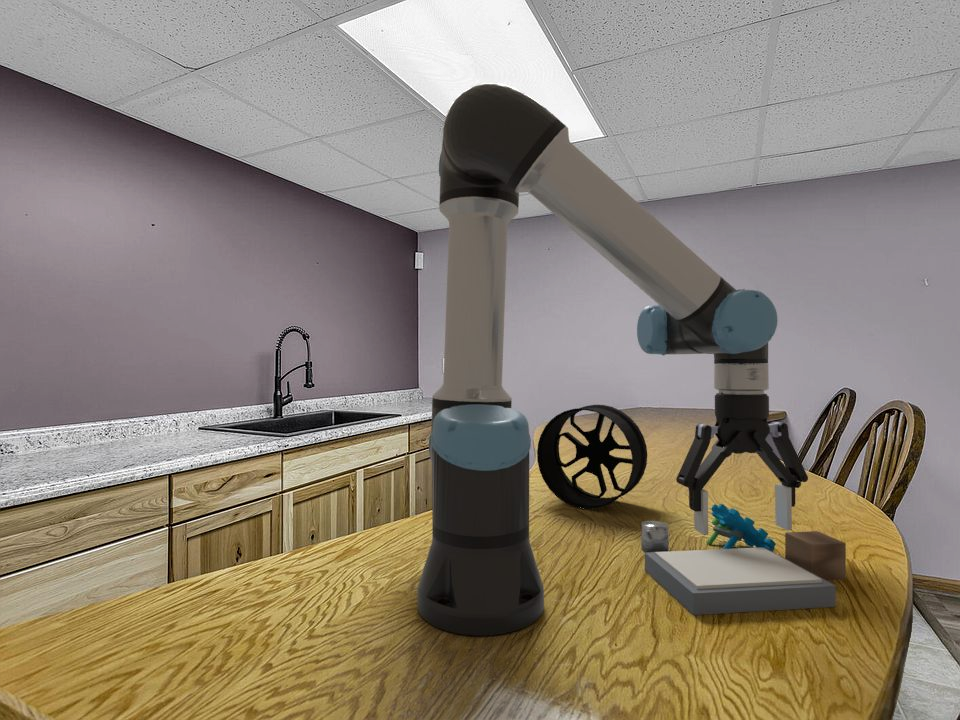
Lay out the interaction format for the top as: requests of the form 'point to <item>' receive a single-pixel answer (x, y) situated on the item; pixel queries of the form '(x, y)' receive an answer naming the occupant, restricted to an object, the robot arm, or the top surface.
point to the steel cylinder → (654, 536)
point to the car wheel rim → (590, 456)
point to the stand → (737, 581)
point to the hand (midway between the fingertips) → (742, 530)
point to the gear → (737, 529)
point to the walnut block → (817, 554)
